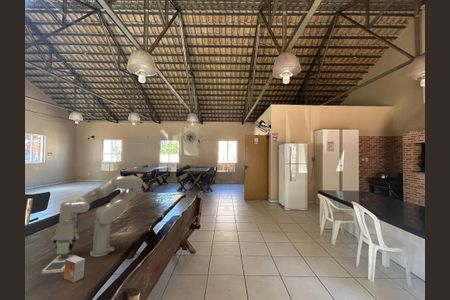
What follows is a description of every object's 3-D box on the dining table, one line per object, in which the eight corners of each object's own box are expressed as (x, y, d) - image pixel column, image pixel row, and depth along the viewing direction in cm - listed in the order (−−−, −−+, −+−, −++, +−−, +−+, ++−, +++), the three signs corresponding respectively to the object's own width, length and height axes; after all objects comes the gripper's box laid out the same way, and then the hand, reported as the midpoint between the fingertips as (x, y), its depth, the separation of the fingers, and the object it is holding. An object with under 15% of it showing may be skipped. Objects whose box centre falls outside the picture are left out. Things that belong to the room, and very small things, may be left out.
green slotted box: (71, 249, 135) (72, 239, 135) (67, 253, 129) (68, 243, 129) (61, 249, 133) (61, 239, 133) (56, 253, 127) (57, 243, 128)
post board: (57, 258, 134) (58, 243, 134) (75, 257, 137) (76, 242, 137) (41, 273, 117) (43, 256, 117) (62, 272, 119) (63, 255, 120)
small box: (63, 278, 113) (65, 259, 114) (74, 273, 118) (75, 255, 119) (73, 282, 110) (74, 262, 111) (83, 277, 116) (85, 258, 116)
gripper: (84, 219, 138) (82, 246, 137) (53, 220, 133) (51, 248, 132) (80, 222, 131) (77, 251, 130) (47, 223, 126) (44, 253, 125)
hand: (64, 249), depth 131 cm, fingers closed on green slotted box, 6 cm apart
